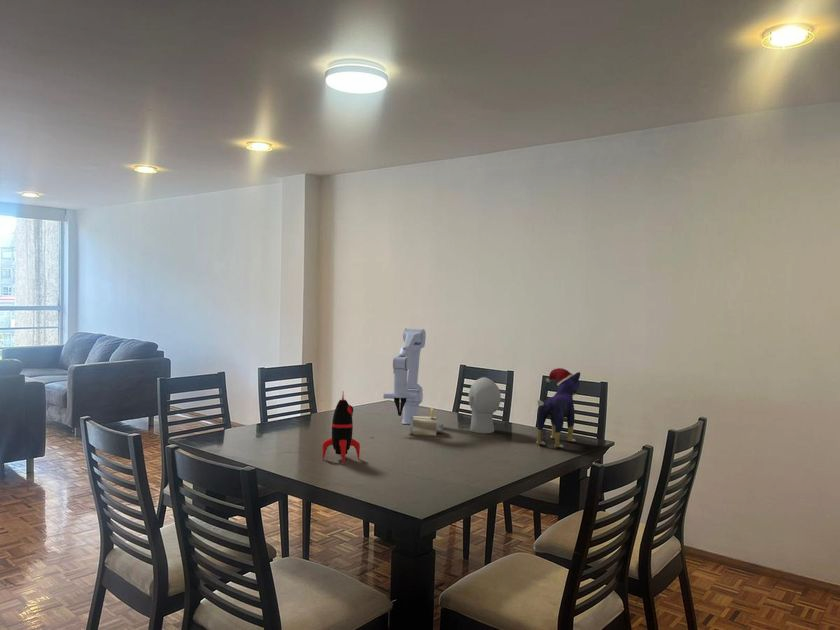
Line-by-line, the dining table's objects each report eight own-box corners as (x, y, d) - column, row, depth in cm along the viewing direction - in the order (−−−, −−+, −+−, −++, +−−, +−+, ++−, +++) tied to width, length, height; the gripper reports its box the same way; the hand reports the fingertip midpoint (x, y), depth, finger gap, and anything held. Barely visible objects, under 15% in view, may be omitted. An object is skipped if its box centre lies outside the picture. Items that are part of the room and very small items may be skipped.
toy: (585, 437, 272) (587, 369, 271) (550, 455, 239) (553, 377, 238) (550, 432, 281) (552, 365, 280) (512, 448, 248) (515, 373, 247)
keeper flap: (430, 416, 275) (430, 407, 275) (432, 416, 275) (432, 407, 275) (430, 419, 268) (431, 410, 268) (433, 419, 268) (433, 410, 268)
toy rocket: (342, 464, 216) (344, 392, 215) (320, 459, 222) (322, 389, 221) (361, 459, 224) (363, 389, 224) (339, 454, 230) (341, 386, 229)
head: (488, 420, 293) (495, 371, 285) (500, 439, 277) (507, 388, 269) (458, 420, 290) (465, 371, 282) (469, 440, 273) (476, 388, 266)
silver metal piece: (409, 430, 275) (410, 417, 275) (442, 431, 275) (442, 418, 275) (409, 433, 268) (410, 420, 268) (443, 434, 268) (443, 421, 268)
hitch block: (412, 429, 277) (413, 415, 276) (435, 430, 277) (435, 416, 277) (412, 434, 267) (413, 420, 266) (436, 435, 267) (436, 421, 267)
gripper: (383, 385, 267) (382, 416, 267) (417, 386, 267) (416, 417, 267) (384, 382, 274) (383, 413, 274) (417, 383, 274) (416, 414, 274)
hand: (399, 415), depth 271 cm, fingers closed
